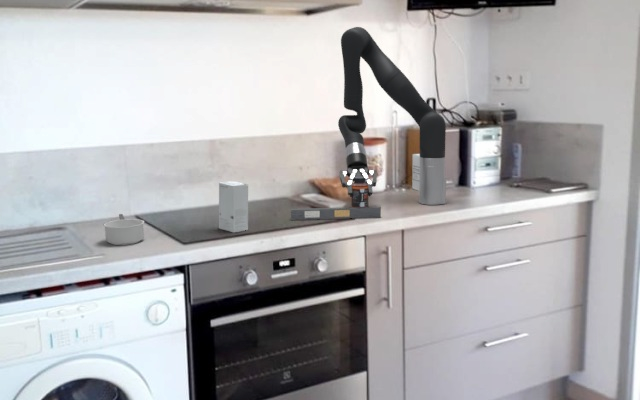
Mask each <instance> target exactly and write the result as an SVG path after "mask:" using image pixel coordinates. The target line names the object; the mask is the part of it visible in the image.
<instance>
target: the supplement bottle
mask: <svg viewBox="0 0 640 400" xmlns="http://www.w3.org/2000/svg"><path fill="white" fill-rule="evenodd" d="M354 181H355V182H353V184H352V197H351V207H369V196H368V184H367V183H366V182H365V177H354Z"/></svg>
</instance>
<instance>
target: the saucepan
mask: <svg viewBox="0 0 640 400" xmlns="http://www.w3.org/2000/svg"><path fill="white" fill-rule="evenodd" d="M118 217H119V219H117V220H116V219H115V220H110V221H107V222H104V223H103V226H104V232H105V242H107V243H109V244H110V245H114V246H115V245H116V246H126V245H133V244H137V243H140V241H142V240H143V239H144V238H145V232H144V229H145V228H144V223H145V220H142V219H139V218H135V219H134V218H133V219H132V218H127V219H126V218H125V217H124V214H122V213H119V214H118Z"/></svg>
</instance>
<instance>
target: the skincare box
mask: <svg viewBox="0 0 640 400" xmlns="http://www.w3.org/2000/svg"><path fill="white" fill-rule="evenodd" d="M218 228H219V229H220V230H224V231H227V232H231V233H233V234H234V233H240V232H245V230H246V231H248V230H249V184H247V183H244V182H240V181H235V180H229V181H220V182H218Z"/></svg>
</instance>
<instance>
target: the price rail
mask: <svg viewBox="0 0 640 400" xmlns="http://www.w3.org/2000/svg"><path fill="white" fill-rule="evenodd" d="M381 209H382V208H381V206H368V207H352V206H351V207H349V206H348V207H318V208H290V221H309V220H310V221H313V220H315V221H317V219H320V220H347V219H349V220H350V218H352V220H353V219H354V220H355V219H381V218H382V217H381V215H382V214H381V213H382V212H381Z"/></svg>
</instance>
